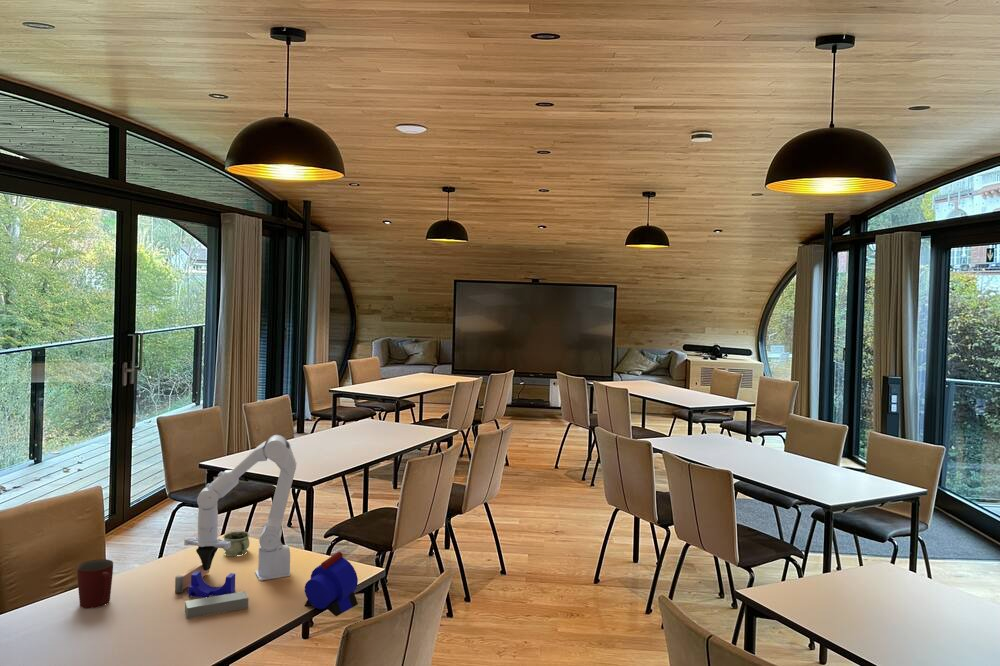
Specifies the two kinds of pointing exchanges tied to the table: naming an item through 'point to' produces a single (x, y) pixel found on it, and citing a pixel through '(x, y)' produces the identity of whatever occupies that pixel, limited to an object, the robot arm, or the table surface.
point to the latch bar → (187, 578)
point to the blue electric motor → (333, 585)
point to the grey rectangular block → (216, 604)
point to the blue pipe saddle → (204, 590)
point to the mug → (94, 582)
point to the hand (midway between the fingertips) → (207, 569)
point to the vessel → (237, 543)
